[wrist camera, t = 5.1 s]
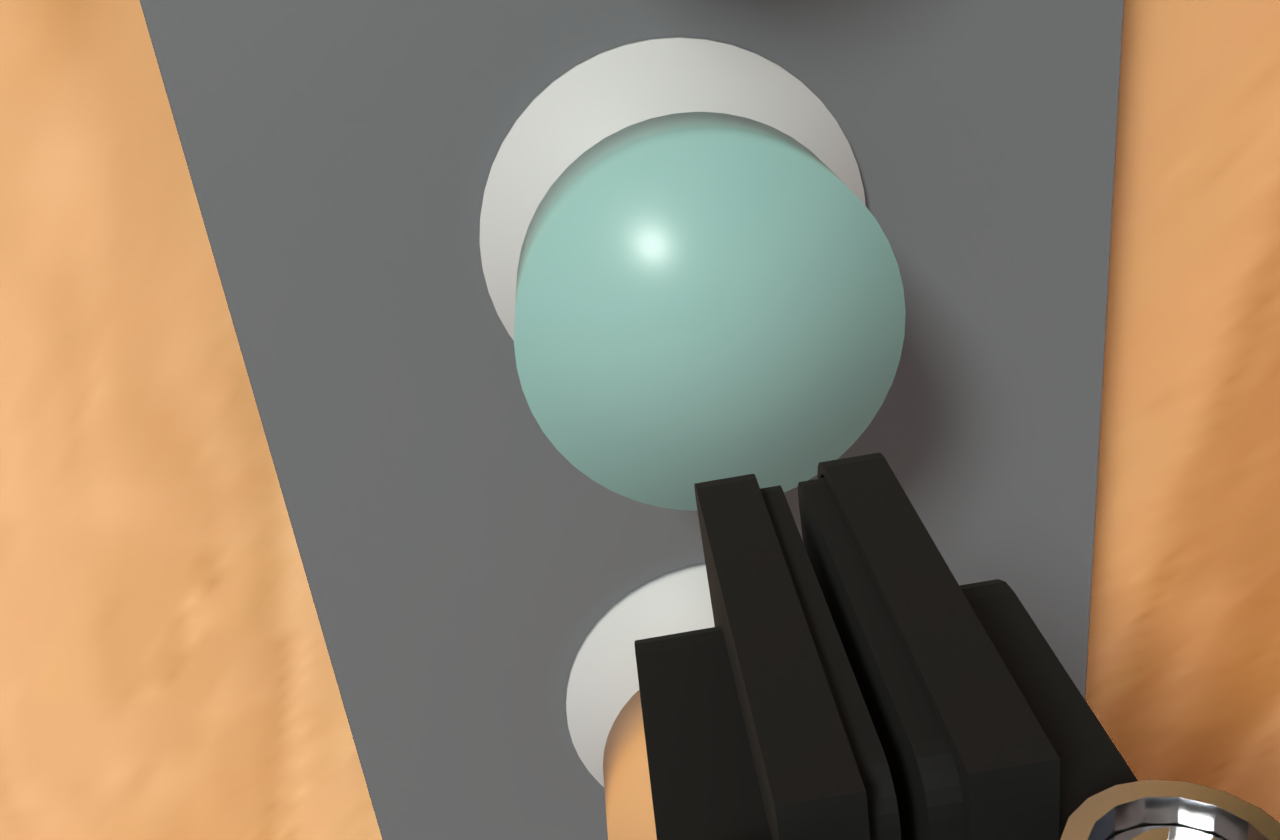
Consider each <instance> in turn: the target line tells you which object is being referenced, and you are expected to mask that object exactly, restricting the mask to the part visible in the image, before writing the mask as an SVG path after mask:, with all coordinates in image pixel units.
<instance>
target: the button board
mask: <svg viewBox="0 0 1280 840" xmlns="http://www.w3.org/2000/svg"><path fill="white" fill-rule="evenodd" d="M140 3H141V7H142V10H143V13H144V17H145V20H146V24H147V27H148V31H149V34H150V38H151V41H152V45H153V48H154V51H155V55H156V58H157V62H158V65H159V69H160V72H161V76H162V79H163V83H164V86H165V89H166V93H167V96H168V100H169V103H170V107H171V110H172V114H173V117H174V121H175V124H176V127H177V131H178V134H179V138H180V141H181V145H182V148H183V152H184V155H185V159H186V162H187V165H188V169H189V172H190V176H191V179H192V183H193V186H194V190H195V193H196V197H197V200H198V203H199V207H200V210H201V214H202V217H203V221H204V224H205V228H206V231H207V235H208V238H209V241H210V245H211V248H212V252H213V255H214V259H215V262H216V266H217V269H218V273H219V276H220V279H221V283H222V286H223V290H224V293H225V297H226V300H227V304H228V307H229V311H230V314H231V317H232V321H233V324H234V328H235V331H236V335H237V338H238V342H239V345H240V349H241V352H242V355H243V359H244V362H245V366H246V369H247V373H248V376H249V380H250V383H251V387H252V390H253V393H254V397H255V400H256V404H257V407H258V411H259V414H260V418H261V421H262V425H263V428H264V431H265V435H266V438H267V442H268V445H269V449H270V452H271V456H272V459H273V463H274V466H275V469H276V473H277V476H278V480H279V483H280V487H281V490H282V494H283V497H284V501H285V504H286V507H287V511H288V514H289V518H290V521H291V525H292V528H293V532H294V535H295V539H296V542H297V545H298V549H299V552H300V556H301V559H302V563H303V566H304V570H305V573H306V577H307V580H308V583H309V587H310V590H311V594H312V597H313V601H314V604H315V608H316V611H317V615H318V618H319V621H320V625H321V628H322V632H323V635H324V639H325V642H326V646H327V649H328V653H329V656H330V659H331V663H332V666H333V670H334V673H335V677H336V680H337V684H338V687H339V691H340V694H341V697H342V701H343V704H344V708H345V711H346V715H347V718H348V722H349V725H350V729H351V732H352V735H353V739H354V742H355V746H356V749H357V753H358V756H359V760H360V763H361V767H362V770H363V773H364V777H365V780H366V784H367V787H368V791H369V794H370V798H371V801H372V805H373V808H374V811H375V815H376V818H377V822H378V825H379V829H380V832H381V836H382V839H383V840H608V832H607V818H606V805H605V791H604V777H603V755H604V749H605V745H606V741H607V737H608V734H609V732H610V730H611V727H612V725H613V723H614V721H615V719H616V718H617V716H618V714H619V713H620V711H621V709H622V708H623V707H624V706H625V705H626V703H627V702H628V701H629V700H630V698H631V697H632V696H633V695H634V694H635V693H636V692H637V691H638V690H639V681H638V672H637V664H636V655H635V645H634V643H635V640H641V639H647V638H653V637H659V636H665V635H670V634H676V633H682V632H688V631H694V630H700V629H706V628H712V627H715V625H714V618H713V611H712V605H711V598H710V591H709V585H708V578H707V571H706V564H705V558H704V551H703V544H702V538H701V531H700V524H699V518H698V511H688V510H676V509H669V508H662V507H656V506H653V505H649V504H645V503H641V502H638V501H634V500H632V499H629V498H627V497H625V496H622V495H620V494H617V493H615V492H613V491H611V490H609V489H607V488H605V487H604V486H602V485H600V484H598V483H596V482H595V481H593V480H592V479H590V478H589V477H588V476H586V475H585V474H583V473H582V472H581V471H579V470H578V469H577V468H575V467H574V466H573V465H572V464H571V463H570V462H569V461H568V460H567V459H566V458H565V457H564V456H563V455H562V454H561V453H560V452H559V451H558V450H557V449H556V448H555V447H554V445H553V444H552V443H551V441H550V440H549V439H548V438H547V436H546V435H545V434H544V433H543V431H542V429H541V428H540V426H539V424H538V422H537V421H536V419H535V417H534V416H533V414H532V412H531V410H530V407H529V405H528V403H527V400H526V398H525V395H524V393H523V390H522V387H521V383H520V379H519V375H518V371H517V367H516V358H515V349H514V322H515V302H516V283H517V270H518V264H519V258H520V252H521V248H522V245H523V241H524V238H525V235H526V232H527V229H528V226H529V224H530V222H531V220H532V218H533V216H534V214H535V211H536V209H537V207H538V205H539V204H540V202H541V201H542V199H543V198H544V196H545V195H546V193H547V192H548V190H549V188H550V187H551V186H552V184H553V183H554V182H555V181H556V180H557V179H558V177H559V176H560V175H561V174H562V173H563V172H564V170H565V169H566V168H567V167H568V166H569V165H570V164H572V163H573V162H574V161H575V160H576V159H577V158H578V157H579V156H580V155H582V154H583V153H584V152H585V151H586V150H588V149H589V148H591V147H592V146H594V145H595V144H597V143H598V142H600V141H601V140H603V139H604V138H606V137H608V136H610V135H612V134H614V133H616V132H617V131H619V130H621V129H623V128H625V127H627V126H630V125H633V124H636V123H639V122H642V121H645V120H648V119H650V118H655V117H660V116H665V115H669V114H674V113H687V112H713V113H726V114H731V115H735V116H740V117H745V118H749V119H752V120H755V121H758V122H761V123H763V124H766V125H769V126H771V127H773V128H775V129H777V130H779V131H781V132H783V133H785V134H787V135H789V136H791V137H792V138H794V139H795V140H796V141H798V142H799V143H801V144H802V145H804V146H805V147H806V148H808V149H809V150H810V151H811V152H813V153H814V154H815V155H816V156H817V157H818V158H819V159H820V160H821V161H822V162H823V163H824V164H825V165H826V166H827V167H828V168H829V169H830V170H831V171H832V172H833V173H834V174H835V175H836V176H837V177H838V178H839V179H840V180H841V181H842V182H843V183H844V184H845V185H846V186H847V187H848V188H849V189H850V190H851V191H852V192H853V193H854V194H855V195H856V196H857V197H858V198H859V199H860V200H861V201H862V202H863V204H864V205H865V206H866V207H867V209H868V210H869V211H870V212H871V214H872V215H873V216H874V217H875V219H876V220H877V222H878V223H879V225H880V227H881V229H882V230H883V232H884V234H885V236H886V237H887V239H888V241H889V243H890V246H891V248H892V251H893V253H894V256H895V258H896V261H897V263H898V267H899V271H900V275H901V280H902V284H903V289H904V299H905V310H906V314H905V336H904V341H903V347H902V352H901V358H900V361H899V364H898V368H897V371H896V374H895V377H894V380H893V383H892V385H891V387H890V389H889V391H888V393H887V396H886V398H885V400H884V402H883V404H882V406H881V407H880V409H879V410H878V412H877V413H876V415H875V417H874V418H873V420H872V421H871V423H870V424H869V426H868V427H867V428H866V429H865V431H864V432H863V433H862V434H861V435H860V437H859V438H858V439H857V440H856V442H855V443H854V444H853V445H852V446H851V447H850V448H849V449H848V450H847V451H846V452H845V453H843V454H842V455H841V456H840V457H839V458H838V459H843V458H849V457H854V456H860V455H866V454H872V453H881V454H882V455H883V456H884V457H885V459H886V461H887V462H888V464H889V466H890V468H891V469H892V471H893V473H894V474H895V476H896V478H897V480H898V481H899V483H900V485H901V486H902V488H903V490H904V492H905V493H906V495H907V497H908V498H909V500H910V502H911V504H912V505H913V507H914V509H915V511H916V512H917V514H918V516H919V517H920V519H921V521H922V523H923V524H924V526H925V528H926V529H927V531H928V533H929V535H930V536H931V538H932V540H933V541H934V543H935V545H936V547H937V548H938V550H939V552H940V553H941V555H942V557H943V559H944V560H945V562H946V564H947V565H948V567H949V569H950V571H951V572H952V574H953V576H954V577H955V579H956V581H957V583H958V584H959V586H960V585H966V584H972V583H977V582H983V581H989V580H995V579H1000V580H1002V581H1005V582H1006V583H1007V584H1008V585H1009V586H1010V587H1011V589H1012V590H1013V591H1014V592H1015V594H1016V595H1017V597H1018V598H1019V600H1020V601H1021V603H1022V605H1023V606H1024V608H1025V609H1026V611H1027V612H1028V614H1029V615H1030V617H1031V618H1032V620H1033V621H1034V623H1035V624H1036V626H1037V627H1038V629H1039V631H1040V632H1041V634H1042V635H1043V637H1044V638H1045V640H1046V641H1047V643H1048V644H1049V646H1050V647H1051V649H1052V650H1053V652H1054V653H1055V655H1056V657H1057V658H1058V660H1059V661H1060V663H1061V664H1062V666H1063V667H1064V669H1065V670H1066V672H1067V673H1068V675H1069V676H1070V678H1071V679H1072V681H1073V683H1074V684H1075V686H1076V687H1077V689H1078V690H1079V692H1080V693H1081V695H1082V696H1083V698H1084V699H1085V690H1086V672H1087V654H1088V636H1089V618H1090V600H1091V582H1092V564H1093V546H1094V528H1095V510H1096V492H1097V474H1098V456H1099V438H1100V420H1101V402H1102V384H1103V366H1104V348H1105V330H1106V312H1107V294H1108V276H1109V258H1110V240H1111V222H1112V204H1113V186H1114V168H1115V150H1116V132H1117V114H1118V96H1119V78H1120V60H1121V42H1122V24H1123V6H1124V0H140ZM814 479H818V477H817V475H816V476H814V477H813V478H811V479H809V480H814ZM784 494H785V497H786V499H787V502H788V505H789V507H790V510H791V512H792V515H793V517H794V520H795V523H796V525H797V528H798V530H799V533H800V536H801V538H802V529H801V519H800V510H799V500H798V487H795V488H793V489H791V490H789V491H787V492H784ZM802 541H803V538H802Z"/></svg>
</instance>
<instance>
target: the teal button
mask: <svg viewBox="0 0 1280 840" xmlns="http://www.w3.org/2000/svg"><path fill="white" fill-rule="evenodd" d="M905 314H906V310H905V299H904V289H903V284H902V280H901V275H900V271H899V267H898V263H897V261H896V258H895V256H894V253H893V251H892V248H891V246H890V243H889V241H888V239H887V237H886V236H885V234H884V232H883V230H882V229H881V227H880V225H879V223H878V222H877V220H876V219H875V217H874V216H873V215H872V214H871V212H870V211H869V210H868V209H867V207H866V206H865V205H864V204H863V202H862V201H861V200H860V199H859V198H858V197H857V196H856V195H855V194H854V193H853V192H852V191H851V190H850V189H849V188H848V187H847V186H846V185H845V184H844V183H843V182H842V181H841V180H840V179H839V178H838V177H837V176H836V175H835V174H834V173H833V172H832V171H831V170H830V169H829V168H828V167H827V166H826V165H825V164H824V163H823V162H822V161H821V160H820V159H819V158H818V157H817V156H816V155H815V154H814V153H813V152H811V151H810V150H809V149H808V148H806V147H805V146H804V145H802V144H801V143H799V142H798V141H796V140H795V139H794V138H792V137H791V136H789V135H787V134H785V133H783V132H781V131H779V130H777V129H775V128H773V127H771V126H769V125H766V124H763V123H761V122H758V121H755V120H752V119H749V118H745V117H740V116H735V115H731V114H726V113H713V112H687V113H674V114H669V115H665V116H660V117H655V118H650V119H648V120H645V121H642V122H639V123H636V124H633V125H630V126H627V127H625V128H623V129H621V130H619V131H617V132H616V133H614V134H612V135H610V136H608V137H606V138H604V139H603V140H601V141H600V142H598V143H597V144H595V145H594V146H592V147H591V148H589V149H588V150H586V151H585V152H584V153H583V154H582V155H580V156H579V157H578V158H577V159H576V160H575V161H574V162H573V163H572V164H570V165H569V166H568V167H567V168H566V169H565V170H564V172H563V173H562V174H561V175H560V176H559V177H558V179H557V180H556V181H555V182H554V183H553V184H552V186H551V187H550V188H549V190H548V192H547V193H546V195H545V196H544V198H543V199H542V201H541V202H540V204H539V205H538V207H537V209H536V211H535V214H534V216H533V218H532V220H531V222H530V224H529V226H528V229H527V232H526V235H525V238H524V241H523V245H522V248H521V252H520V258H519V264H518V270H517V283H516V302H515V322H514V349H515V358H516V367H517V371H518V375H519V379H520V383H521V387H522V390H523V393H524V395H525V398H526V400H527V403H528V405H529V407H530V410H531V412H532V414H533V416H534V417H535V419H536V421H537V422H538V424H539V426H540V428H541V429H542V431H543V433H544V434H545V435H546V436H547V438H548V439H549V440H550V441H551V443H552V444H553V445H554V447H555V448H556V449H557V450H558V451H559V452H560V453H561V454H562V455H563V456H564V457H565V458H566V459H567V460H568V461H569V462H570V463H571V464H572V465H573V466H574V467H575V468H577V469H578V470H579V471H581V472H582V473H583V474H585V475H586V476H588V477H589V478H590V479H592V480H593V481H595V482H596V483H598V484H600V485H602V486H604V487H605V488H607V489H609V490H611V491H613V492H615V493H617V494H620V495H622V496H625V497H627V498H629V499H632V500H634V501H638V502H641V503H645V504H649V505H653V506H656V507H662V508H669V509H676V510H688V511H697V504H696V497H695V488H694V484H695V483H701V482H707V481H712V480H718V479H724V478H730V477H736V476H742V475H748V474H755V476H756V479H757V482H758V484H759V487H760V489H761V488H767V487H773V486H778V485H780V486H781V487H782V489H783V492H787V491H789V490H791V489H793V488H795V487H798V483H799V482H802V481H808V480H809V479H811V478H813V477H814V476H816V475H817V472H818V464H819V462H825V461H831V460H837V459H838V458H839V457H840V456H841V455H842V454H843V453H845V452H846V451H847V450H848V449H849V448H850V447H851V446H852V445H853V444H854V443H855V442H856V440H857V439H858V438H859V437H860V435H861V434H862V433H863V432H864V431H865V429H866V428H867V427H868V426H869V424H870V423H871V421H872V420H873V418H874V417H875V415H876V413H877V412H878V410H879V409H880V407H881V406H882V404H883V402H884V400H885V398H886V396H887V393H888V391H889V389H890V387H891V385H892V383H893V380H894V377H895V374H896V371H897V368H898V364H899V361H900V358H901V352H902V347H903V341H904V336H905Z"/></svg>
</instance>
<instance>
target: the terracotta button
mask: <svg viewBox="0 0 1280 840" xmlns="http://www.w3.org/2000/svg"><path fill="white" fill-rule="evenodd" d="M603 777H604V791H605V805H606V818H607V832H608V840H657V836H656V827H655V818H654V810H653V801H652V793H651V784H650V776H649V767H648V758H647V750H646V741H645V733H644V724H643V715H642V707H641V698H640V690H638V691H637V692H636V693H635V694H634V695H633V696H632V697H631V698H630V700H629V701H628V702H627V703H626V705H625V706H624V707H623V708H622V709H621V711H620V713H619V714H618V716H617V718H616V719H615V721H614V723H613V725H612V727H611V730H610V732H609V734H608V737H607V741H606V745H605V749H604V755H603Z"/></svg>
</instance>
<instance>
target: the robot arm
mask: <svg viewBox="0 0 1280 840" xmlns="http://www.w3.org/2000/svg"><path fill="white" fill-rule="evenodd" d="M817 477H818V479H814V480H808V481H802V482H799V483H798V500H799V510H800V519H801V529H802V538H803V541H802V538H801V536H800V533H799V530H798V528H797V525H796V523H795V520H794V517H793V515H792V512H791V510H790V507H789V505H788V502H787V499H786V497H785V494H784V492H783V489H782V487H781V486H780V485H778V486H773V487H767V488H761V489H760V487H759V484H758V482H757V479H756V476H755V474H748V475H742V476H736V477H730V478H724V479H718V480H712V481H707V482H701V483H695V484H694V488H695V497H696V504H697V511H698V518H699V524H700V531H701V538H702V544H703V551H704V558H705V564H706V571H707V578H708V585H709V591H710V598H711V605H712V611H713V618H714V625H715V627H712V628H706V629H700V630H694V631H688V632H682V633H676V634H670V635H665V636H659V637H653V638H647V639H641V640H635V643H634V645H635V655H636V664H637V672H638V681H639V690H640V698H641V707H642V715H643V724H644V733H645V741H646V750H647V758H648V767H649V776H650V784H651V793H652V801H653V810H654V818H655V827H656V836H657V840H1280V823H1279V822H1277V821H1276V820H1275V819H1274V818H1272V817H1271V816H1270V815H1268V814H1267V813H1266V812H1265V811H1263V810H1262V809H1260V808H1258V807H1256V806H1254V805H1252V804H1250V803H1248V802H1246V801H1244V800H1242V799H1240V798H1238V797H1235V796H1233V795H1231V794H1229V793H1227V792H1225V791H1221V790H1217V789H1214V788H1210V787H1206V786H1202V785H1198V784H1194V783H1191V782H1185V781H1168V780H1151V779H1149V780H1143V781H1138V780H1137V779H1136V777H1135V776H1134V774H1133V773H1132V771H1131V770H1130V768H1129V767H1128V765H1127V764H1126V762H1125V761H1124V759H1123V757H1122V756H1121V754H1120V753H1119V751H1118V750H1117V748H1116V747H1115V745H1114V744H1113V742H1112V741H1111V739H1110V738H1109V736H1108V735H1107V733H1106V731H1105V730H1104V728H1103V727H1102V725H1101V724H1100V722H1099V721H1098V719H1097V718H1096V716H1095V715H1094V713H1093V712H1092V710H1091V709H1090V707H1089V705H1088V704H1087V702H1086V701H1085V699H1084V698H1083V696H1082V695H1081V693H1080V692H1079V690H1078V689H1077V687H1076V686H1075V684H1074V683H1073V681H1072V679H1071V678H1070V676H1069V675H1068V673H1067V672H1066V670H1065V669H1064V667H1063V666H1062V664H1061V663H1060V661H1059V660H1058V658H1057V657H1056V655H1055V653H1054V652H1053V650H1052V649H1051V647H1050V646H1049V644H1048V643H1047V641H1046V640H1045V638H1044V637H1043V635H1042V634H1041V632H1040V631H1039V629H1038V627H1037V626H1036V624H1035V623H1034V621H1033V620H1032V618H1031V617H1030V615H1029V614H1028V612H1027V611H1026V609H1025V608H1024V606H1023V605H1022V603H1021V601H1020V600H1019V598H1018V597H1017V595H1016V594H1015V592H1014V591H1013V590H1012V589H1011V587H1010V586H1009V585H1008V584H1007V583H1006V582H1005V581H1002V580H1000V579H995V580H989V581H983V582H977V583H972V584H966V585H960V586H959V584H958V583H957V581H956V579H955V577H954V576H953V574H952V572H951V571H950V569H949V567H948V565H947V564H946V562H945V560H944V559H943V557H942V555H941V553H940V552H939V550H938V548H937V547H936V545H935V543H934V541H933V540H932V538H931V536H930V535H929V533H928V531H927V529H926V528H925V526H924V524H923V523H922V521H921V519H920V517H919V516H918V514H917V512H916V511H915V509H914V507H913V505H912V504H911V502H910V500H909V498H908V497H907V495H906V493H905V492H904V490H903V488H902V486H901V485H900V483H899V481H898V480H897V478H896V476H895V474H894V473H893V471H892V469H891V468H890V466H889V464H888V462H887V461H886V459H885V457H884V456H883V455H882V454H881V453H872V454H866V455H860V456H854V457H849V458H843V459H837V460H831V461H825V462H819V464H818V472H817Z"/></svg>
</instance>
